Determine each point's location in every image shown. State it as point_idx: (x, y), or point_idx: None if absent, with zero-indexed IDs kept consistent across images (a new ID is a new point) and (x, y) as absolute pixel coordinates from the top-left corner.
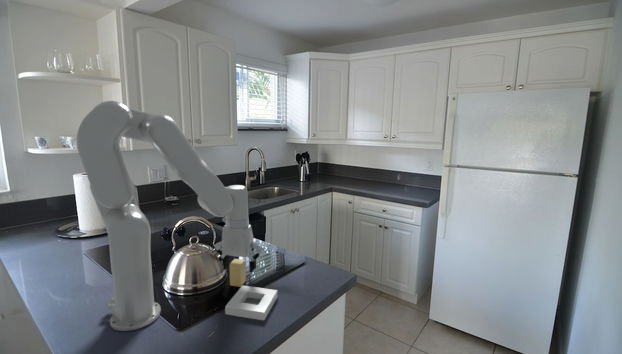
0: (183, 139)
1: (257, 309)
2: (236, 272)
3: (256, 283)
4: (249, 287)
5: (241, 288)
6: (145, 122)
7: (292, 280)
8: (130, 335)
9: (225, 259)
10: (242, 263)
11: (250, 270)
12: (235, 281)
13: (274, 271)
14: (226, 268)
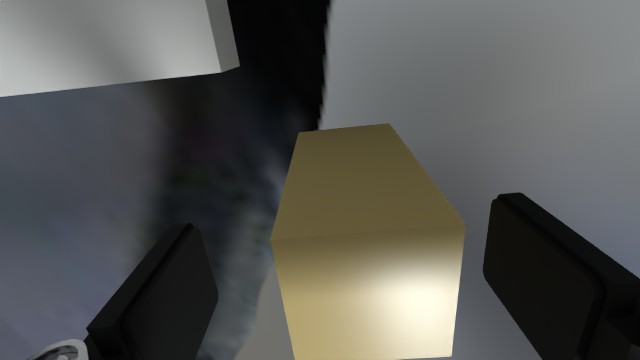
0: None
1: None
2: (337, 177)
3: (228, 211)
4: (136, 60)
5: (192, 11)
6: None
7: (56, 301)
8: None
9: (586, 288)
10: (282, 290)
11: (177, 233)
12: (345, 140)
13: (212, 346)
14: (490, 212)
